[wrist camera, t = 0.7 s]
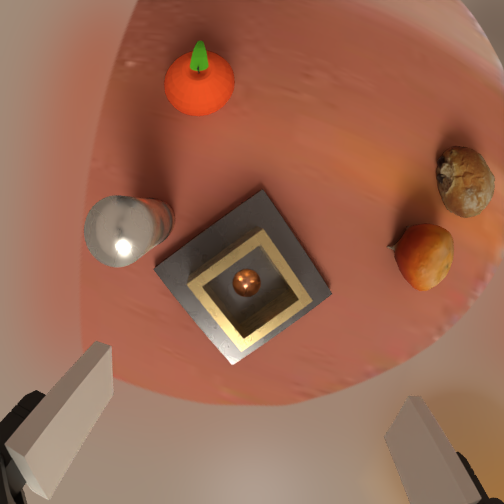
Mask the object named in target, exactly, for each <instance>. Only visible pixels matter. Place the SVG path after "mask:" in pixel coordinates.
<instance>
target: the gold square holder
mask: <svg viewBox="0 0 504 504" xmlns="http://www.w3.org/2000/svg"><path fill="white" fill-rule="evenodd" d="M154 271H155V272H156V273H157V275H158V276H159V277H160V279H161V280H162V281H163V282H164V284H165V285H166V286H167V288H168V289H169V290H170V291H171V293H172V294H173V295H174V296H175V298H176V299H177V300H178V301H179V303H180V304H181V305H182V306H183V308H184V309H185V310H186V311H187V313H188V314H189V315H190V316H191V317H192V319H193V320H194V321H195V322H196V324H197V325H198V326H199V327H200V328H201V329H202V331H203V332H204V333H205V334H206V335H207V337H208V338H209V339H210V340H211V341H212V342H213V344H214V345H215V346H216V347H217V348H218V349H219V350H220V352H221V353H222V354H223V355H224V356H225V357H226V358H227V359H228V361H229V362H230V363H231V364H232V365H233V364H235V363H236V362H238V361H239V360H241V359H242V358H244V357H245V356H247V355H248V354H250V353H251V352H253V351H254V350H256V349H257V348H259V347H260V346H262V345H263V344H264V343H266V342H267V341H269V340H270V339H272V338H273V337H274V336H276V335H277V334H279V333H280V332H282V331H283V330H284V329H286V328H287V327H289V326H290V325H291V324H293V323H294V322H295V321H297V320H298V319H300V318H301V317H302V316H304V315H305V314H306V313H308V312H309V311H310V310H312V309H313V308H314V307H316V306H317V305H318V304H320V303H321V302H322V301H324V300H325V299H326V298H328V297H329V296H330V295H331V294H332V293H331V291H330V290H329V288H328V286H327V285H326V283H325V282H324V280H323V279H322V277H321V275H320V274H319V272H318V271H317V269H316V268H315V266H314V265H313V263H312V262H311V260H310V258H309V257H308V255H307V254H306V252H305V251H304V249H303V248H302V246H301V245H300V243H299V242H298V240H297V239H296V237H295V236H294V234H293V233H292V231H291V230H290V228H289V227H288V225H287V224H286V222H285V221H284V219H283V218H282V216H281V215H280V213H279V212H278V211H277V209H276V208H275V206H274V205H273V203H272V202H271V200H270V199H269V197H268V196H267V195H266V193H265V192H264V190H260V191H259V192H258V193H256V194H255V195H253V196H252V197H250V198H249V199H248V200H246V201H245V202H243V203H242V204H241V205H239V206H238V207H236V208H235V209H233V210H232V211H231V212H229V213H228V214H226V215H225V216H224V217H222V218H221V219H220V220H218V221H217V222H215V223H214V224H213V225H211V226H210V227H208V228H207V229H206V230H204V231H203V232H202V233H200V234H199V235H198V236H196V237H195V238H194V239H192V240H191V241H189V242H188V243H187V244H185V245H184V246H183V247H181V248H180V249H179V250H177V251H176V252H175V253H173V254H172V255H171V256H169V257H168V258H167V259H165V260H164V261H163V262H162V263H160V264H159V265H158V266H156V267H155V268H154Z"/></svg>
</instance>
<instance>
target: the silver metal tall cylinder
mask: <svg viewBox="0 0 504 504" xmlns="http://www.w3.org/2000/svg"><path fill="white" fill-rule="evenodd" d="M174 225H175V216H174V212H173V210H172V209H171V207H170V206H169V205H168V204H167V203H165V202H163V201H161V200H158V199H155V198H137V197H128V196H117V195H116V196H109V197H106V198H103V199H102V200H100V201H99V202H97V203H96V204H95V205H94V206H93V207H92V208H91V210H90V211H89V213H88V215H87V218H86V221H85V226H84V236H85V241H86V244H87V247H88V249H89V251H90V252H91V254H92V255H93V256H94V257H95V258H96V259H97V260H98V261H100V262H101V263H103V264H105V265H107V266H111V267H123V266H127V265H130V264H132V263H133V262H135V261H136V260H138V259H139V258H140V257H141V256H143V255H144V254H145V253H147V252H148V251H149V250H151V249H152V248H153V247H154V246H156V245H158V244H160V243H161V242H163V241H164V240H165V239H166V238H167V237H168V236H169V235H170V234H171V232H172V230H173V228H174Z"/></svg>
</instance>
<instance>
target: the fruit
mask: <svg viewBox="0 0 504 504" xmlns="http://www.w3.org/2000/svg"><path fill="white" fill-rule="evenodd" d="M406 227H407V230H406V231H405V233H404V235H403V236H402V237H401V239H400V240H399V241H398V242H397V243H396V244H395V245H394V246H392V247H388V246H387V248H389V249H392V250H394V252H395V260H396V262H397V264H398V267H399V270H400V272H401V273H402V275H403V277H404V278H405V279H406V280H407V281H408V282H409V283H410V284H411V286H412V287H413V288H415V289H417V290H419V291H426V290H429V289H431V288H432V287H434V286H436V285H437V284H438V283H440V281H441V280H443V279H444V278H445V276H446V275H447V273H448V271H449V269H450V266H451V263H452V260H453V253H454V247H453V239H452V236H451V234H450V233H449V232H448V231H447V230H446V229H444V228H442V227H440V226H437V225H433V224H419V225H411V226H406Z"/></svg>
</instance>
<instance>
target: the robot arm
mask: <svg viewBox="0 0 504 504" xmlns="http://www.w3.org/2000/svg"><path fill="white" fill-rule="evenodd" d="M113 394H114V392H113V375H112V346H110V345H107V344H104V343H101V342H98V341H95V342H94V343H93V344H92V345H91V347H90V348H89V349H88V350H87V351H86V352H85V353H84V354H83V355H82V356H81V357H80V358H79V360H77V362H76V363H75V364H74V365H73V366H72V367H71V368H70V369H69V370H68V371H67V372H66V374H65V375H64V376H63V377H62V378H61V379H60V380H59V381H58V382H57V383H56V385H55V386H54V387H53V388H52V389H51V390H50V391H49V392H48V394H47V395H45V394H43V393H41V392H39V391H37V390H36V391H33V392H32V393H29V394H27V395H25V396H24V397H23V398H22V399H21V400H20V402H19V403H18V405H16V406H15V407H14V408H13V409H12V411H11V412H9V413H8V414H7V416H6V417H5V418H4V419H3V420H2V421H1V422H0V504H27V501H26V497H25V494H24V491H23V489H22V488H23V486H24V485H25V483H27V485H28V486H29V488H30V489H31V490H32V491H33V492H35V493H37V494H38V495H40V496H42V497H44V498H46V499H47V500H50V498H51V497H52V495H53V493H54V491H55V490H56V488H57V486H58V484H59V483H60V481H61V479H62V478H63V476H64V474H65V472H66V471H67V469H68V467H69V466H70V464H71V462H72V461H73V459H74V457H75V456H76V454H77V452H78V450H79V449H80V447H81V446H82V444H83V442H84V441H85V439H86V437H87V436H88V434H89V433H90V431H91V429H92V428H93V426H94V424H95V423H96V421H97V419H98V418H99V416H100V415H101V413H102V411H103V410H104V409H105V406H106V405H107V404H108V402H109V400H110V399H111V397H112V396H113ZM384 438H385V441H386V443H387V446H388V448H389V451H390V453H391V456H392V458H393V461H394V463H395V466H396V468H397V471H398V473H399V476H400V478H401V481H402V483H403V486H404V488H405V491H406V494H407V496H408V499H409V502H410V504H504V503H503V502H502V501H501V500H500V499H498V498H490V499H489V497H488V496H487V494H486V492H485V490H484V489H483V487H482V485H481V483H480V482H479V480H478V478H477V476H476V475H474V471H473V469H472V468H471V466H470V464H469V463H468V461H467V459H466V458H465V457H464V456H463V455H461V454H460V453H459V452H455V450H454V448H453V447H452V445H451V444H450V442H449V440H448V439H447V437H446V435H445V434H444V432H443V430H442V429H441V427H440V426H439V424H438V422H437V421H436V419H435V418H434V416H433V414H432V413H431V411H430V410H429V408H428V407H427V405H426V403H425V402H424V400H423V399H422V397H421V396H408V397H407V399H406V401H405V403H404V404H403V406H402V408H401V410H400V411H399V413H398V415H397V416H396V418H395V420H394V421H393V423H392V424H391V426H390V428H389V429H388V431H387V432H386V434H385V436H384Z"/></svg>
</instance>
